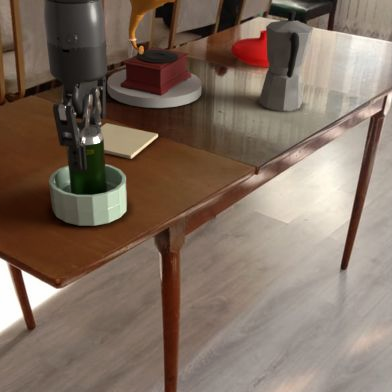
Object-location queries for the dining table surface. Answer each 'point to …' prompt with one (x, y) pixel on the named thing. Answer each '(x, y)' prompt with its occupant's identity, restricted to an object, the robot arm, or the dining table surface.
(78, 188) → the beer can
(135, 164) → the dining table surface
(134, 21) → the gramophone
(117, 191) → the bowl
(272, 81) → the coffeepot
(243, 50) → the red disc with nozzle
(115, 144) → the coaster
